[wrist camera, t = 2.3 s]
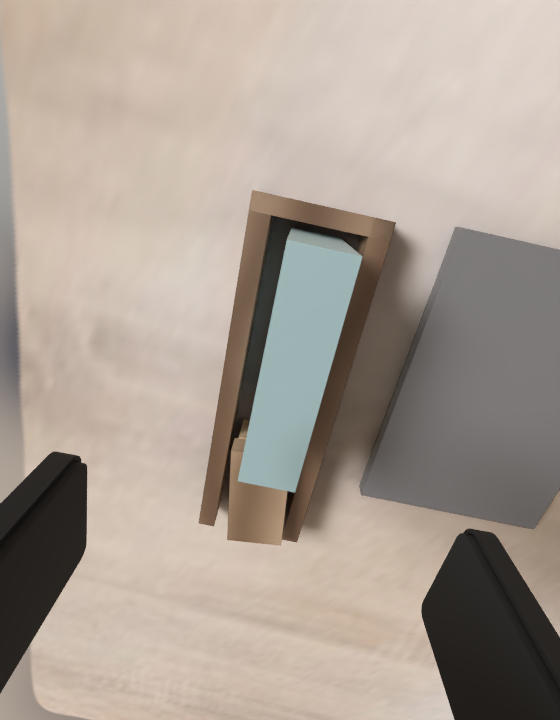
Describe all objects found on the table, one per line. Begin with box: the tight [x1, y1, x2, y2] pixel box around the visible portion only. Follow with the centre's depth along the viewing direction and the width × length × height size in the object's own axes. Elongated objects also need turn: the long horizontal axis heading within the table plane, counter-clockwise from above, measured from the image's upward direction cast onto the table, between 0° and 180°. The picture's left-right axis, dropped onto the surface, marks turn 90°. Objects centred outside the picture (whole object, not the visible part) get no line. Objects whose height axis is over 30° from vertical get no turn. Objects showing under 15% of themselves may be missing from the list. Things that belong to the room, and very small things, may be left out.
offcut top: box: [227, 438, 287, 545], centre depth 27 cm, size 4×8×2 cm, turn 175°
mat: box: [359, 227, 560, 529], centre depth 26 cm, size 14×20×1 cm
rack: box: [199, 190, 396, 542], centre depth 25 cm, size 8×24×2 cm, turn 168°
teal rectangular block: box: [238, 227, 363, 493], centre depth 21 cm, size 3×12×9 cm, turn 168°
